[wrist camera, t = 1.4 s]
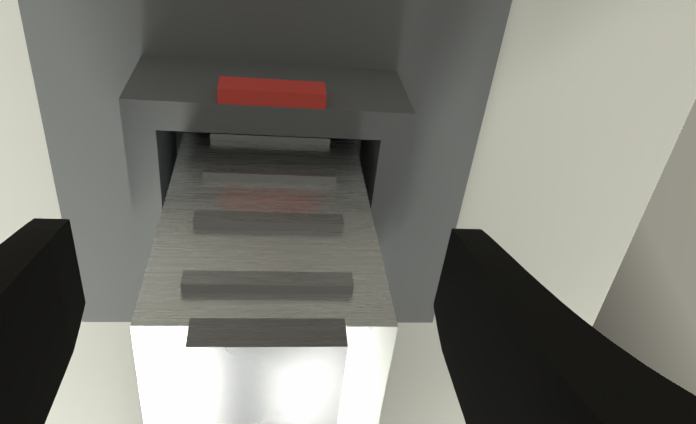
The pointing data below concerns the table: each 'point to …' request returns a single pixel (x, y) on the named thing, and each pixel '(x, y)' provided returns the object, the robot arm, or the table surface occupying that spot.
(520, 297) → the robot arm
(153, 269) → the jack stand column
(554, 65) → the jack stand base
